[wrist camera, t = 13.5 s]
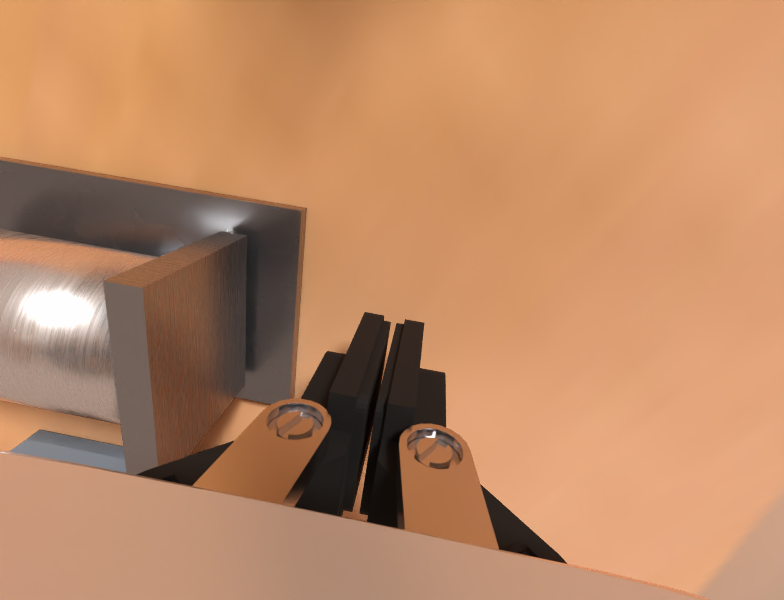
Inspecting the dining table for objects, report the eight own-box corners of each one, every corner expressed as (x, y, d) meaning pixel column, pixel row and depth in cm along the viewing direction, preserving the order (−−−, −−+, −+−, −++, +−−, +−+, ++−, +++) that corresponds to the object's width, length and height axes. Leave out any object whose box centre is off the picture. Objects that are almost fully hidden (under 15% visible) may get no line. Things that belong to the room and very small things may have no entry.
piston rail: (-169, 310, 16) (-187, 315, 16) (-246, 115, 14) (-271, 114, 13) (293, 399, 15) (289, 407, 15) (306, 208, 13) (301, 210, 12)
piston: (2, 338, 15) (-179, 421, 10) (-33, 187, 13) (-274, 212, 8) (244, 384, 14) (160, 491, 10) (247, 235, 12) (142, 287, 8)
